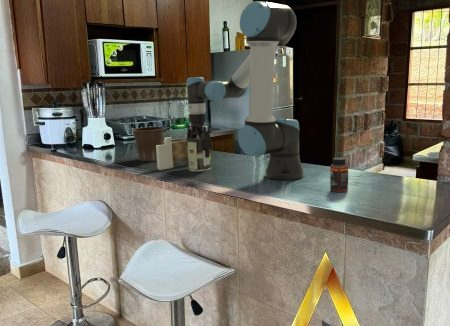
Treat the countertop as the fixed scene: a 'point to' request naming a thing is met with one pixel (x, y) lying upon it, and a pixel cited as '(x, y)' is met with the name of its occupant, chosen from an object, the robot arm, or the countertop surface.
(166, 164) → the door frame
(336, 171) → the supplement bottle
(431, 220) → the countertop surface
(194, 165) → the coffee can
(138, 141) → the plant pot
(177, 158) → the door
